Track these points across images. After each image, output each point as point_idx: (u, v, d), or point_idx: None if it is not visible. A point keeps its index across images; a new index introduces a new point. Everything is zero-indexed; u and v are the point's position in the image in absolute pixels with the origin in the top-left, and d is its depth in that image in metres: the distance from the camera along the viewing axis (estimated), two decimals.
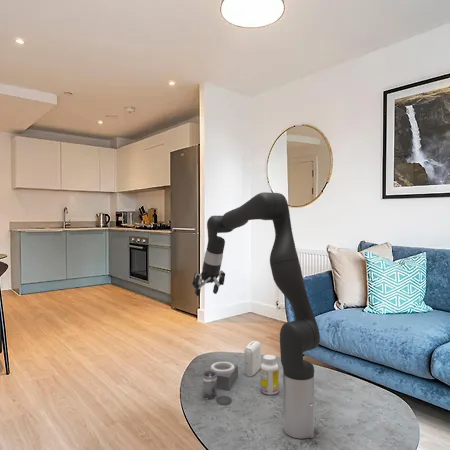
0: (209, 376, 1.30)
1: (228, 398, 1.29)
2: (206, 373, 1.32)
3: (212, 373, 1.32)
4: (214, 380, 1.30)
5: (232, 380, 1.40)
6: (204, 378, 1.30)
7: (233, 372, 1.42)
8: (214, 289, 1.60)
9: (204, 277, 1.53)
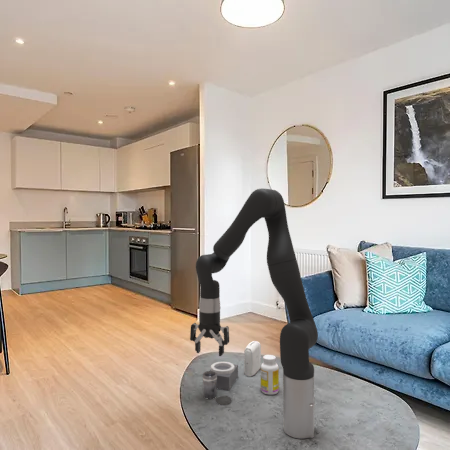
0: (209, 376, 1.30)
1: (228, 398, 1.29)
2: (206, 373, 1.32)
3: (212, 373, 1.32)
4: (214, 380, 1.30)
5: (232, 380, 1.40)
6: (204, 378, 1.30)
7: (233, 372, 1.42)
8: None
9: (200, 328, 1.32)
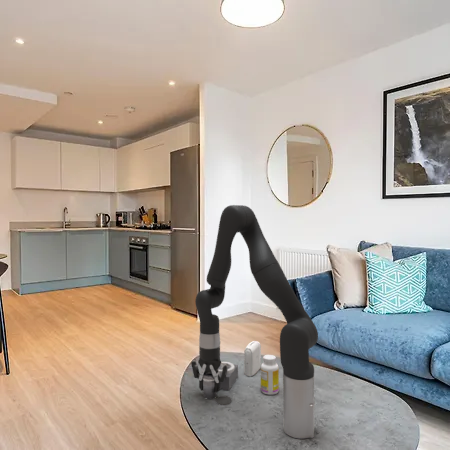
0: (209, 376, 1.30)
1: (228, 398, 1.29)
2: (206, 373, 1.32)
3: None
4: (214, 380, 1.30)
5: (232, 380, 1.40)
6: (204, 378, 1.30)
7: (233, 372, 1.42)
8: None
9: (200, 365, 1.32)
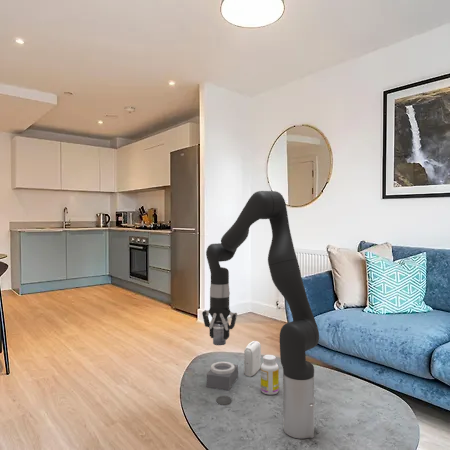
0: (219, 324, 1.39)
1: (228, 398, 1.29)
2: (216, 322, 1.41)
3: (222, 322, 1.41)
4: (224, 328, 1.40)
5: (232, 380, 1.40)
6: (214, 326, 1.40)
7: (233, 372, 1.42)
8: None
9: (211, 314, 1.41)
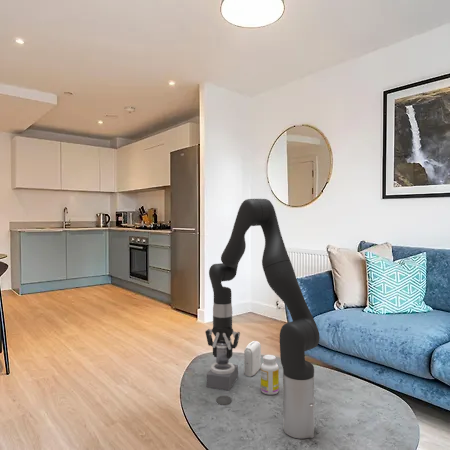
0: (222, 343, 1.41)
1: (228, 398, 1.29)
2: (219, 341, 1.43)
3: None
4: (227, 347, 1.41)
5: (232, 380, 1.40)
6: (217, 345, 1.41)
7: (233, 372, 1.42)
8: None
9: (214, 333, 1.43)
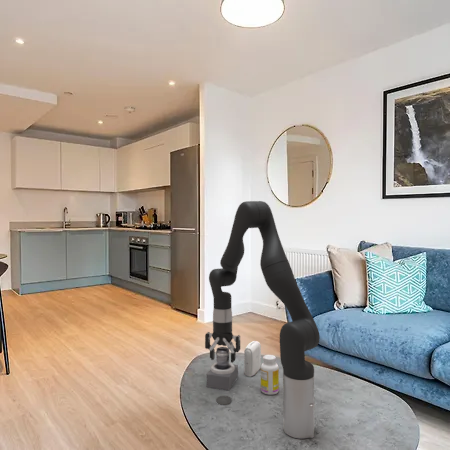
0: (222, 351, 1.41)
1: (228, 398, 1.29)
2: (219, 348, 1.43)
3: (225, 348, 1.43)
4: (227, 354, 1.41)
5: (232, 380, 1.40)
6: (218, 353, 1.41)
7: (233, 372, 1.42)
8: None
9: (214, 337, 1.43)
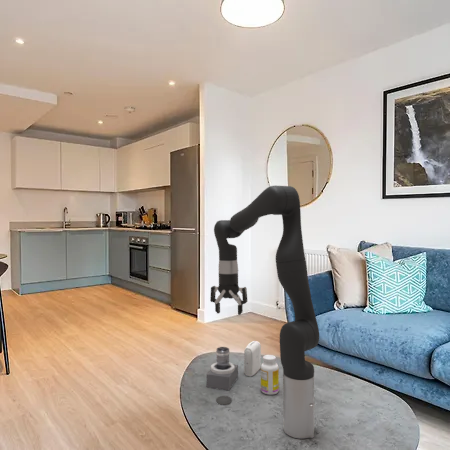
0: (222, 351, 1.41)
1: (228, 398, 1.29)
2: (219, 348, 1.43)
3: (225, 348, 1.43)
4: (227, 354, 1.41)
5: (232, 380, 1.40)
6: (218, 353, 1.41)
7: (233, 372, 1.42)
8: None
9: (219, 290, 1.41)
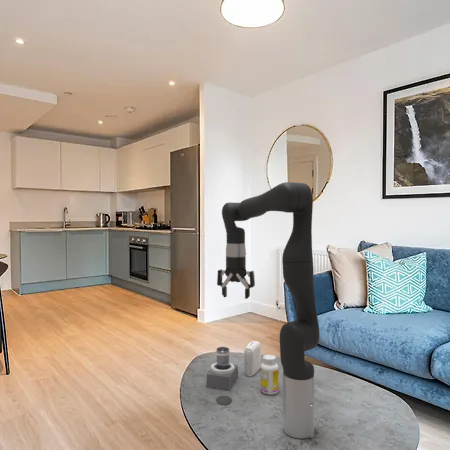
0: (222, 351, 1.41)
1: (228, 398, 1.29)
2: (219, 348, 1.43)
3: (225, 348, 1.43)
4: (227, 354, 1.41)
5: (232, 380, 1.40)
6: (218, 353, 1.41)
7: (233, 372, 1.42)
8: None
9: (226, 273, 1.39)
